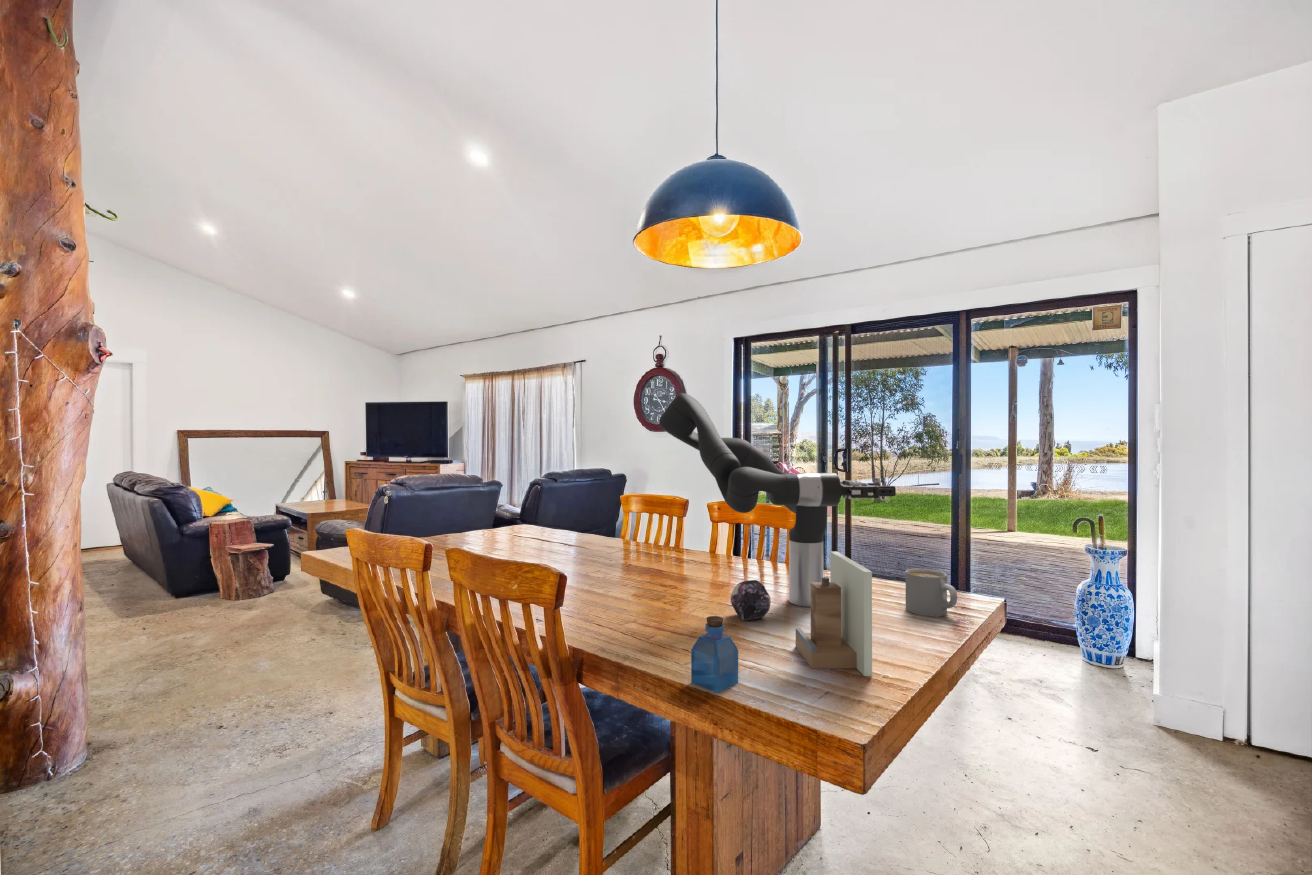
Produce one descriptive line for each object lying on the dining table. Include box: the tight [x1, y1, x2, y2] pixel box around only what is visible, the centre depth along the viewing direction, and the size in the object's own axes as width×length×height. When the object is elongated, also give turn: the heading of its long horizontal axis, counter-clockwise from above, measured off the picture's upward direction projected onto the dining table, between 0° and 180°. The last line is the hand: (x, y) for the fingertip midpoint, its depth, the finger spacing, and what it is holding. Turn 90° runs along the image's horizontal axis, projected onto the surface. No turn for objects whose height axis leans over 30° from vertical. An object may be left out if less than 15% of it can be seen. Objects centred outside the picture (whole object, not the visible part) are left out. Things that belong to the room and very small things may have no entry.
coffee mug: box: [905, 568, 958, 617], centre depth 153 cm, size 13×10×10 cm
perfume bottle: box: [690, 615, 739, 694], centre depth 109 cm, size 6×6×12 cm
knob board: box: [810, 576, 841, 646], centre depth 122 cm, size 4×5×14 cm
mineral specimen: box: [730, 579, 772, 622], centre depth 148 cm, size 10×10×10 cm
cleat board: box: [795, 551, 873, 677], centre depth 122 cm, size 20×10×20 cm, turn 1°
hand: (886, 489), depth 132 cm, fingers open, 8 cm apart
